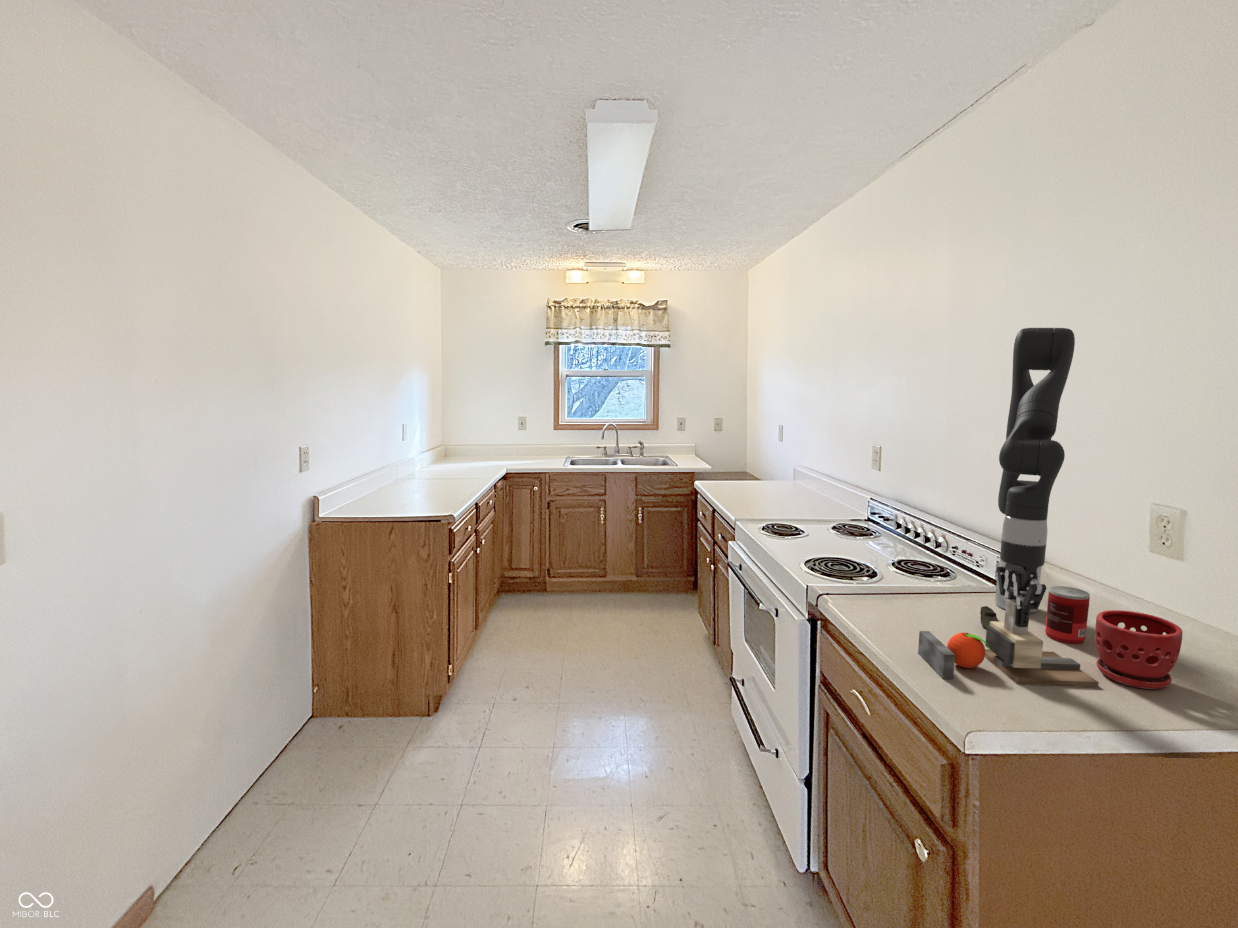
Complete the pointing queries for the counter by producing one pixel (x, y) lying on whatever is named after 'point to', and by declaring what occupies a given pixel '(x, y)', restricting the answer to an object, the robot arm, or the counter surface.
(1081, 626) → the canned food
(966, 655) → the clementine
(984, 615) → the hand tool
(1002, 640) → the jaw
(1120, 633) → the plant pot
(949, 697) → the counter surface
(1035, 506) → the robot arm
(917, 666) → the counter surface
